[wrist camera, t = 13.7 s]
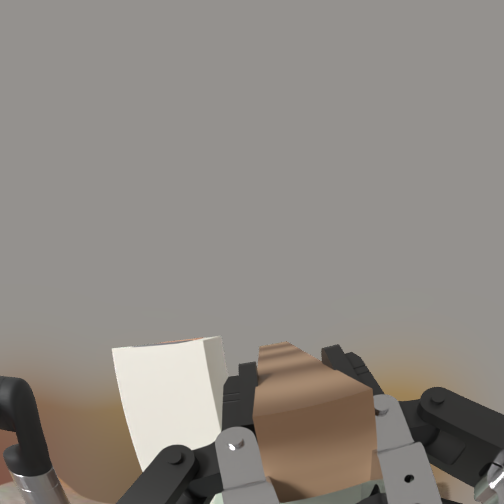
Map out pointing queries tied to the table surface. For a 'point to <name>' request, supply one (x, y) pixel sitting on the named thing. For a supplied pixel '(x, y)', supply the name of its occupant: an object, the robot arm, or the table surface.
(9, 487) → the table surface
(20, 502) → the table surface
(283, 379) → the bar
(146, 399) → the stand
